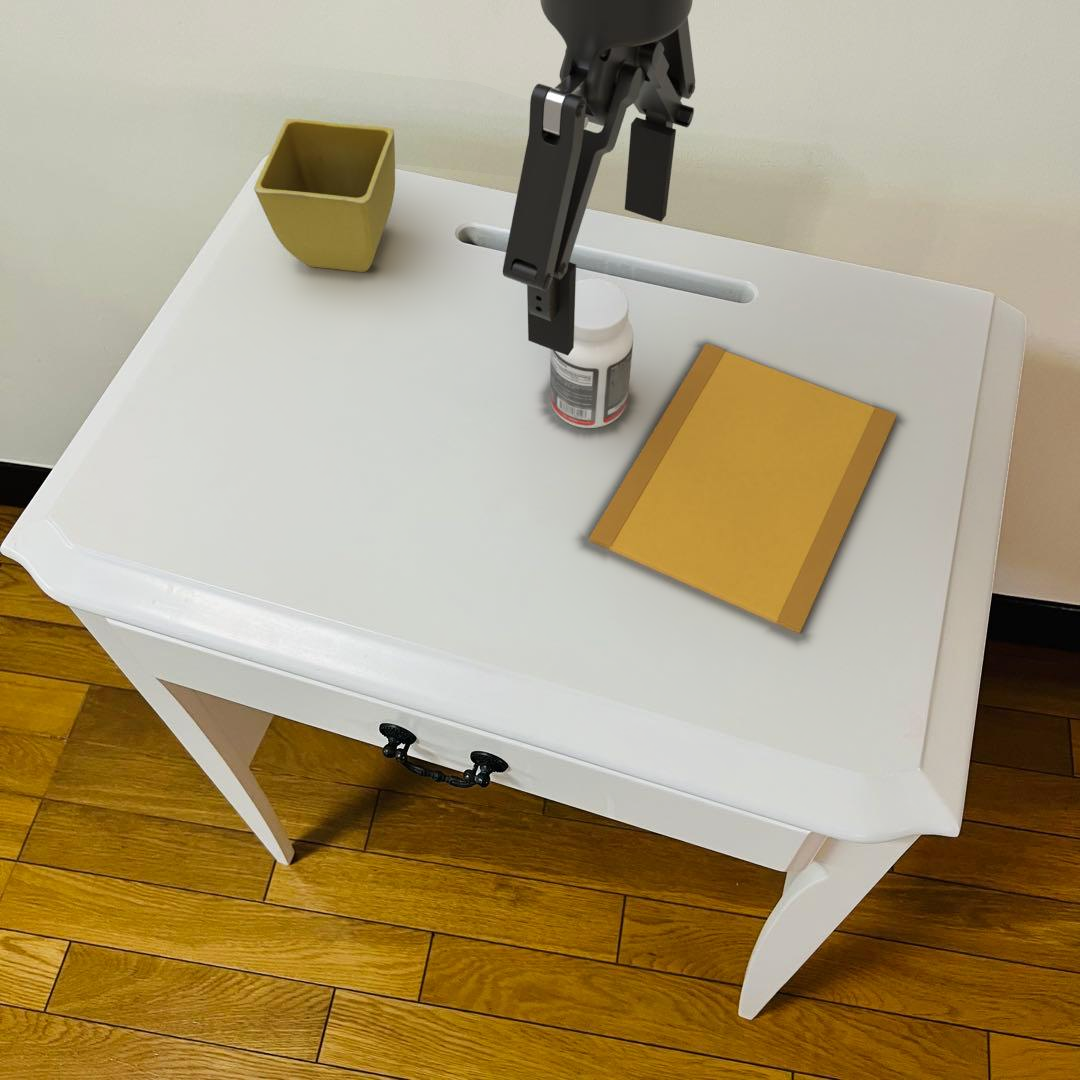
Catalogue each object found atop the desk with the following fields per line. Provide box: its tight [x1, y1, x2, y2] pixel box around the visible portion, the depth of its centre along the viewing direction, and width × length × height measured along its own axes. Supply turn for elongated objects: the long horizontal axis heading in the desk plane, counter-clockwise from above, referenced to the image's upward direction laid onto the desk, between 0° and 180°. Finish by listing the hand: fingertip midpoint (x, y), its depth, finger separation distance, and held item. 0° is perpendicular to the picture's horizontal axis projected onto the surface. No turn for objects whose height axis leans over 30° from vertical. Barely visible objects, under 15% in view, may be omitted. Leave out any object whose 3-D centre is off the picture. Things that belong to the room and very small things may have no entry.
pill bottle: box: [549, 278, 634, 429], centre depth 73 cm, size 6×6×10 cm
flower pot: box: [253, 118, 396, 273], centre depth 82 cm, size 9×9×9 cm
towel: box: [589, 343, 898, 634], centre depth 73 cm, size 15×20×1 cm
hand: (600, 275), depth 66 cm, fingers open, 13 cm apart
